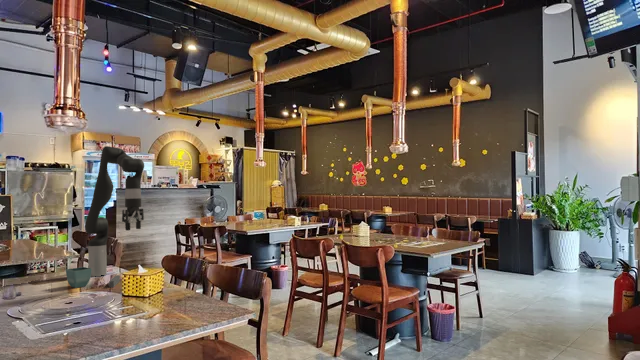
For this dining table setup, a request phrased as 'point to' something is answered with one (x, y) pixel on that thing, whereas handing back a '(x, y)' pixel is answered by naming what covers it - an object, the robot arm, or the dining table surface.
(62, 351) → the dining table surface
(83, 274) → the flower pot
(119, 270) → the dining table surface
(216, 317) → the dining table surface
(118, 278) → the bumper bar
